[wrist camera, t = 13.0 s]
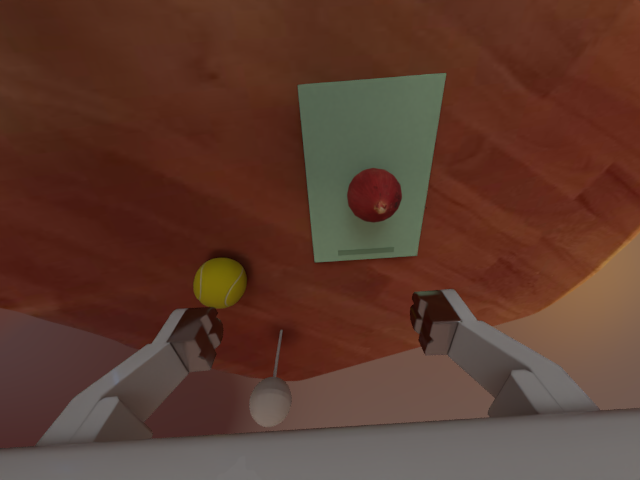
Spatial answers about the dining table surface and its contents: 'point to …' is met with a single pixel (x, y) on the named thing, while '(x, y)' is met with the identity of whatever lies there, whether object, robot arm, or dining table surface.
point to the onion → (374, 195)
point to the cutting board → (368, 159)
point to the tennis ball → (220, 282)
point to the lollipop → (271, 398)
